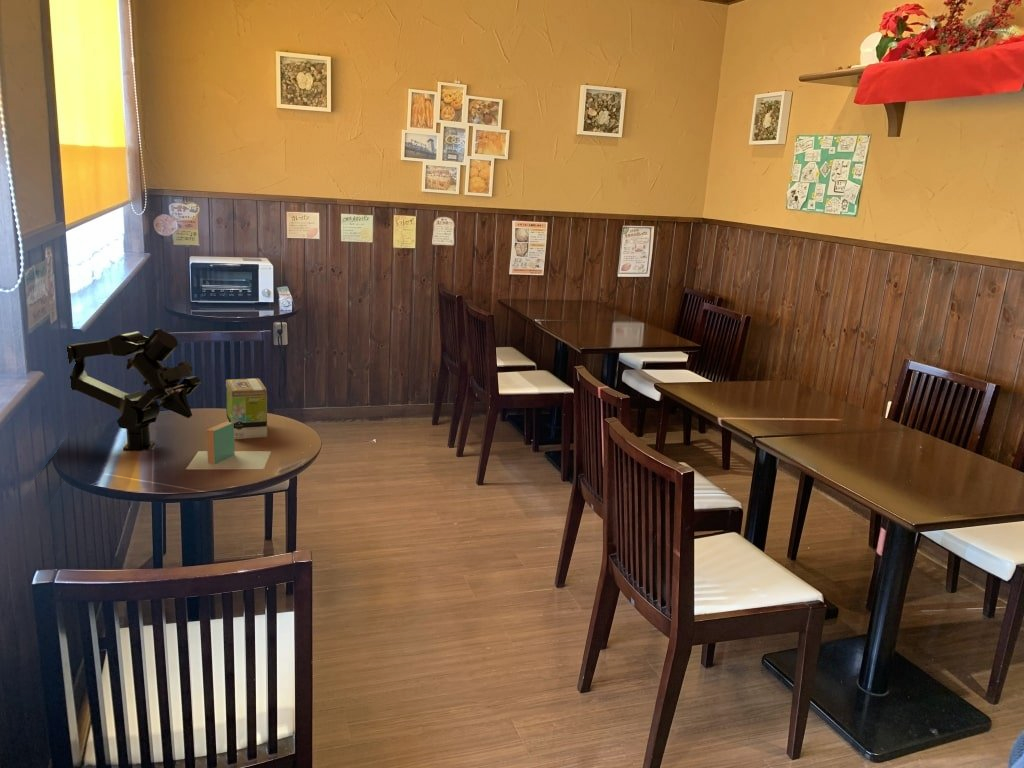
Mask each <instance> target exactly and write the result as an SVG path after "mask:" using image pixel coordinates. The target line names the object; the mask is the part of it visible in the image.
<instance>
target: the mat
mask: <svg viewBox="0 0 1024 768" xmlns="http://www.w3.org/2000/svg"><path fill="white" fill-rule="evenodd" d="M234 451H235V455H233V456H231V457H229V458H227V459H225V460H223V461H221V462H219V463H217V464H213V463H208V453H207V450H201V451H199V450H198V451H197V453H196V454H195V455H194V457H193V458H192V460H191V461H190V463H189V464H188V466H187V467H186V468H185V470H265V467H266V465H267V462H268V460H269V458H270V456H271V452H272V451H270V450H268V451H267V450H264V451H263V450H262V451H261V450H259V451H256V450H253V451H252V450H249V451H248V450H244V451H243V450H241V451H239V450H238V451H237V450H234Z"/></svg>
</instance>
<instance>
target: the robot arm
mask: <svg viewBox="0 0 1024 768" xmlns="http://www.w3.org/2000/svg"><path fill="white" fill-rule="evenodd" d="M178 345H179V343H178V339H177V338H176V337H175V336H174V335H172V334H170V333H169V332H166V331H163V330H162V328H155V329H154V330H153V331H152V333H151V334H150V336H146V335H143V334H142V333H141V332H140V331H132V332H126V333H120V334H118V335H115V336H112V337H110V338H108V339H103V340H98V341H91V342H85V343H82V342H81V343H80V342H78V343H74V344H68V345H66V346H67V352H68V359H69V364H70V363H73V362H74V359H75V362H76V364H75V366H74V368H73V371H72V373H71V375H70V379H71V388H72V390H71V391H77V392H79V393H81V394H83V395H85V396H88V397H90V398H92V399H95V400H97V401H99V402H101V403H102V404H106V405H108V406H110V407H113V408H115V409H117V410H118V411H119V413H120V415H121V416H119V417H118V419H117V420H116V422H117V425H118V427H119V428H120V429H124V430H126V444H125V445H124V446H123V447H122V450H123V451H125V450H126V451H127V450H129V451H135V450H137V451H147V450H150V449H151V447H153V445H154V444H155V440H151V431H150V429H151V428H150V427H151V426H150V424H153V423H156V422H157V418H158V416H159V414H160V408H163V409H166V410H168V411H172V413H176V414H178V415H180V416H182V417H183V418H187V419H191V418H192V417H193V414H192V411H191V407H190V404H189V401H188V397H187V396H189V395H191V394H192V393H193V392H194V391H195V390H196V388H198V386H200V385H201V384H202V381H201V380H200V378H198V376H197V375H196V376H194V375H192V373H191V372H192V371H193V366H192V365H191V364H190V363H189V362H188V361H187V360H185V361H182V362H179V363H178V364H177V366H174V367H172V368H171V367H170V366H164V365H163V364H162V363H161V362H163V361H165V360H167V358H168V357H169V356H170V355H171V354H172V353H173V351H174V350H175V349H176V348H177V347H178ZM134 354H135V355H134ZM103 355H112V356H114V357H126V356H130V355H134V356H133V357H131V358H128V359H127V363H126V370H128V371H130V370H132V369H136V371H137V372H138V373H139V374H140V376H141V377H142V378H143V379H144V381H143V385H144V386H145V387H146V386H147V387H148V386H150V389H147V390H146V391H145V392H144V391H142V390H138V391H135V392H134V391H133V392H131V393H127V392H125V391H122V390H121V389H118V388H115V387H113V386H111V385H109V384H108V383H104V382H102V381H100V380H97V379H96V378H93V377H91V376H89V375H88V373H87V371H86V369H85V368H86V366H87V365H86V358H90V357H95V356H96V357H97V356H103ZM191 375H192V376H191ZM182 378H184V379H183V380H182ZM158 400H159V402H160V404H159V402H158Z"/></svg>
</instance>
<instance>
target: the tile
mask: <svg viewBox="0 0 1024 768" xmlns="http://www.w3.org/2000/svg"><path fill="white" fill-rule="evenodd" d="M206 444H207V445H206V446H207V447H206V449H207V450H206V451H207V453H208V463H213V464H217V463H219V462H221V461H223V460H225V459H227V458H229V457H231V456H233V455H235V451H236V450H235V439H234V423H232V422H227V421H225V422H221V423H219V424H216V425H213V426H212V427H210V428H207V429H206Z"/></svg>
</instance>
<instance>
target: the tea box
mask: <svg viewBox="0 0 1024 768" xmlns="http://www.w3.org/2000/svg"><path fill="white" fill-rule="evenodd" d="M225 405H226V407H225V409H226V414H225V415H226V422H232V423H234V440H242V439H243V440H244V439H252V438H263V437H264V438H267V436H268V390H267V388H266V386H265V385H264V383H263V382H262V380H261V379H260V378H256V377H255V378H237V379H236V378H234V379H233V378H232V379H225Z"/></svg>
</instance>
